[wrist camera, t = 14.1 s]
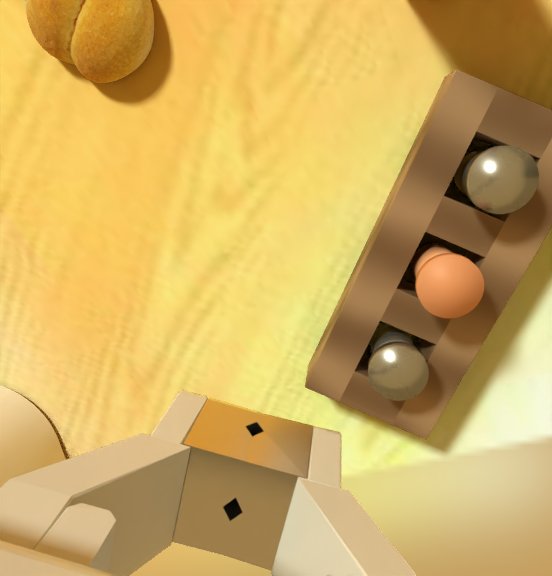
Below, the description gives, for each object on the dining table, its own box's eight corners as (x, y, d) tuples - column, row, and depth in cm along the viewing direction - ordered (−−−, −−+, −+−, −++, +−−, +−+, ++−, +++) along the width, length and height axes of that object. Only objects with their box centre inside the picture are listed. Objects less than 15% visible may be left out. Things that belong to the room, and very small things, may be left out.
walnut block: (418, 412, 43) (426, 439, 39) (308, 365, 43) (304, 387, 39) (578, 133, 35) (606, 132, 31) (444, 77, 35) (457, 69, 32)
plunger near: (489, 211, 37) (516, 224, 31) (438, 189, 37) (456, 198, 31) (517, 158, 36) (552, 161, 30) (465, 135, 36) (489, 135, 30)
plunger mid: (445, 299, 38) (464, 328, 32) (396, 277, 38) (406, 303, 32) (472, 251, 37) (496, 272, 31) (421, 229, 37) (435, 246, 31)
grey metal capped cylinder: (402, 371, 41) (412, 409, 35) (356, 351, 41) (358, 386, 35) (425, 328, 40) (439, 361, 34) (378, 308, 40) (384, 337, 34)
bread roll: (129, 103, 39) (106, 99, 35) (28, 36, 38) (-7, 24, 35) (181, -1, 36) (162, -18, 33) (73, -74, 36) (41, -100, 32)
